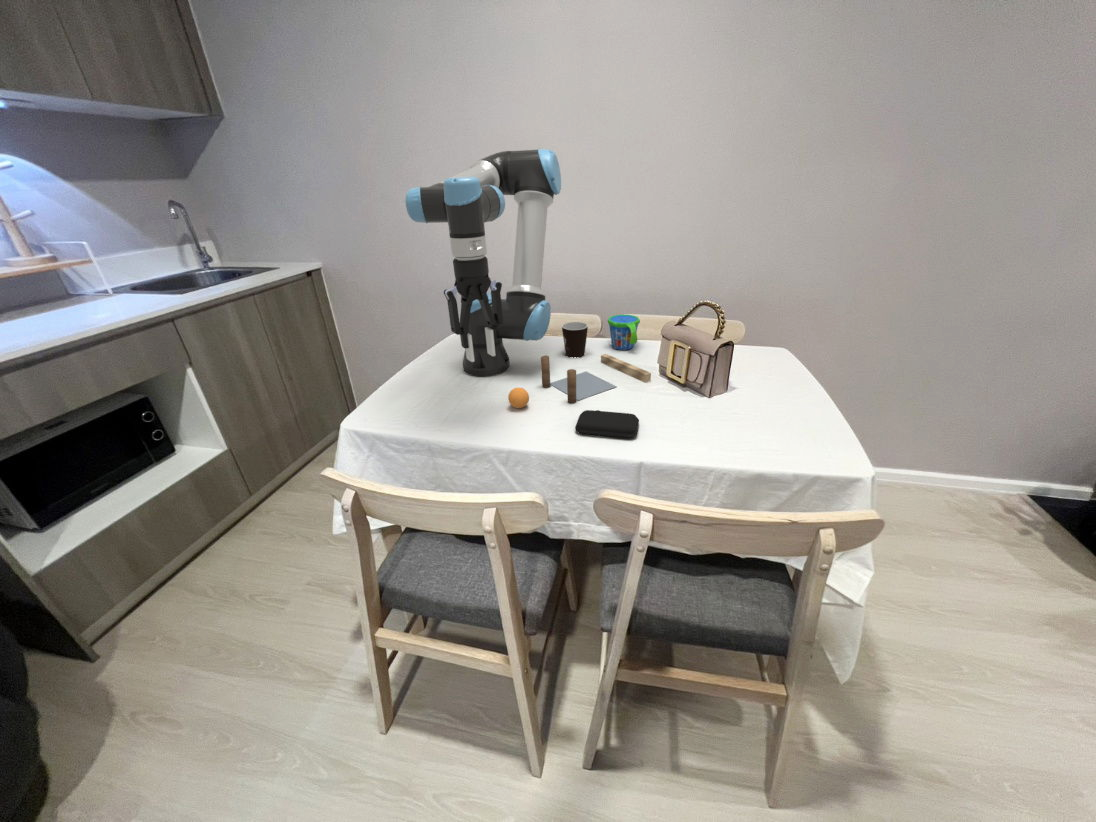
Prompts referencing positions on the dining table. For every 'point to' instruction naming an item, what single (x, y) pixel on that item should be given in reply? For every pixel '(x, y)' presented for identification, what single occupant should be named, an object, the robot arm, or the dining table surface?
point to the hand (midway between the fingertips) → (481, 357)
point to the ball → (518, 397)
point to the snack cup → (623, 331)
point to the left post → (545, 371)
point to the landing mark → (585, 385)
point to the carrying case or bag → (607, 424)
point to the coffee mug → (574, 338)
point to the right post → (571, 385)
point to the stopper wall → (626, 368)
